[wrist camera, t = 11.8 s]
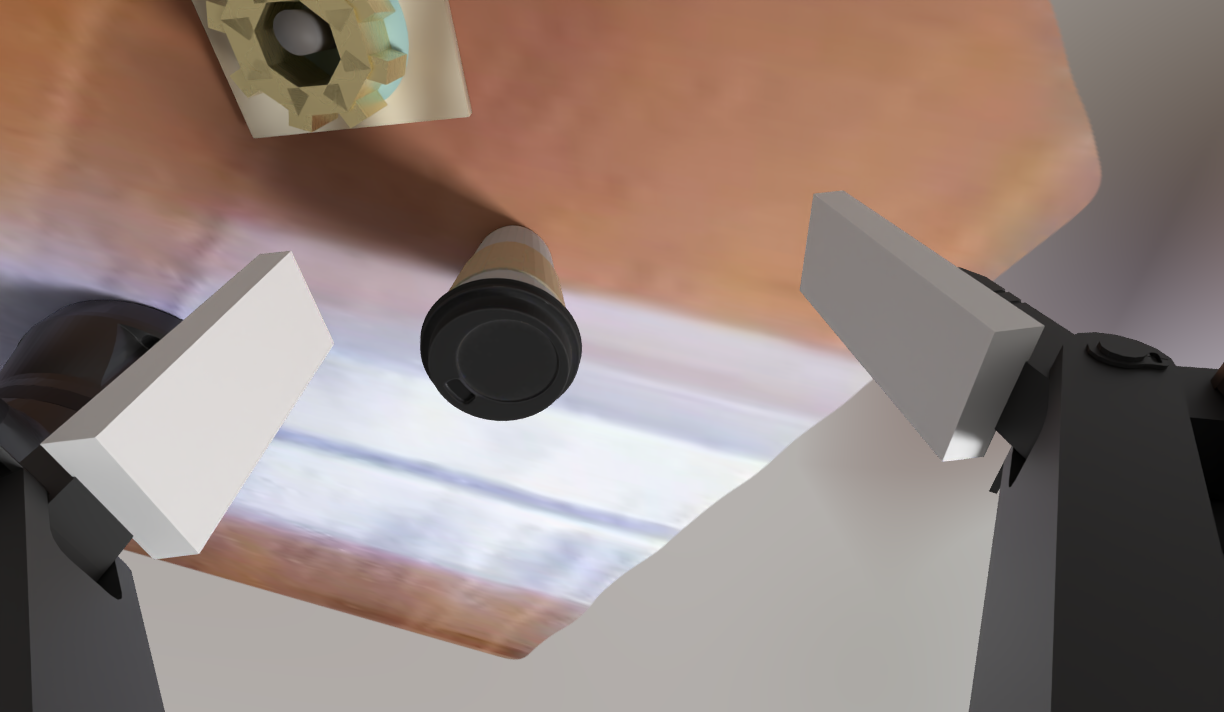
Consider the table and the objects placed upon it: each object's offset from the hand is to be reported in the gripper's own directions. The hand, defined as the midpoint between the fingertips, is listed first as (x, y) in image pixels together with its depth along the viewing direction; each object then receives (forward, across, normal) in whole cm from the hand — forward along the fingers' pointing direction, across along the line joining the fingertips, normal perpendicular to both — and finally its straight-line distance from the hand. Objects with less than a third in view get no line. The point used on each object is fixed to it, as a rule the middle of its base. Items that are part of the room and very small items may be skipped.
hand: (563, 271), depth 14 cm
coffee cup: (+27, -5, -11) cm, 30 cm away
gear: (+25, -13, +5) cm, 29 cm away
